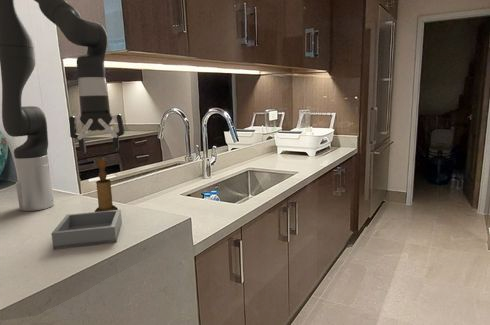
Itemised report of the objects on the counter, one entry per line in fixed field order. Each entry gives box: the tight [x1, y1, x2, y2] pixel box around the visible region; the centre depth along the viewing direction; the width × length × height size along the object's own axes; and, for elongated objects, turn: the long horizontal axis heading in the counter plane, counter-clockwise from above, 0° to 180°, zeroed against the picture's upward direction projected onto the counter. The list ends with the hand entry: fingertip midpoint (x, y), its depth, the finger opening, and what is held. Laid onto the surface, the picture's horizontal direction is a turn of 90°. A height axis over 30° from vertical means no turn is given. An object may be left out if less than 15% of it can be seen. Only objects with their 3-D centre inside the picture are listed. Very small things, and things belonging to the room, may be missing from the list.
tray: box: [51, 209, 123, 250], centre depth 89 cm, size 14×14×4 cm
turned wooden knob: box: [94, 157, 119, 212], centre depth 102 cm, size 7×6×18 cm
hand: (100, 151), depth 100 cm, fingers open, 8 cm apart
